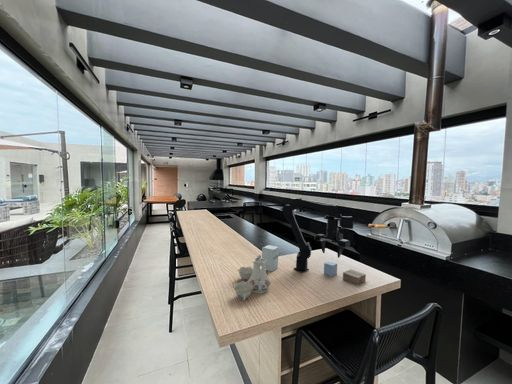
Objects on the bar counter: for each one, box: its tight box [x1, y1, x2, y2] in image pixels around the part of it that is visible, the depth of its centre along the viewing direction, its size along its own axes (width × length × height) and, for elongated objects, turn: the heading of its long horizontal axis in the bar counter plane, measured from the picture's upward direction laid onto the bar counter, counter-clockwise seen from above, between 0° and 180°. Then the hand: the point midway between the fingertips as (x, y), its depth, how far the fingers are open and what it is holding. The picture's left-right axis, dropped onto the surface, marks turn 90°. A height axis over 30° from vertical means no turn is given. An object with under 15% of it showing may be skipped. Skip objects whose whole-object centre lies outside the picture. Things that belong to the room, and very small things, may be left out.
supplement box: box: [261, 244, 279, 272], centre depth 125 cm, size 7×7×13 cm
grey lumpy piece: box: [233, 254, 271, 302], centre depth 100 cm, size 28×17×17 cm, turn 4°
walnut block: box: [342, 268, 367, 286], centre depth 113 cm, size 8×8×4 cm
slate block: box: [323, 260, 338, 277], centre depth 121 cm, size 5×5×6 cm
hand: (330, 255), depth 120 cm, fingers open, 9 cm apart
